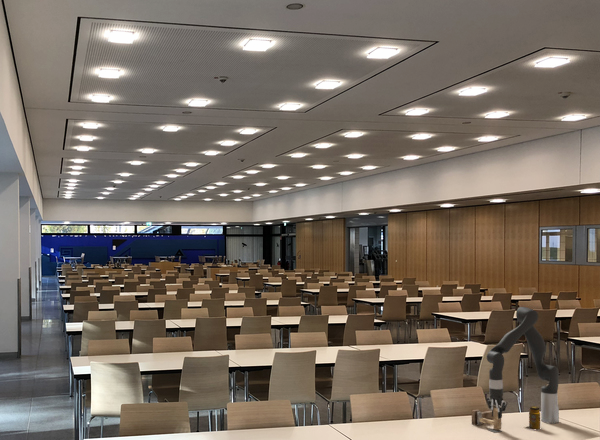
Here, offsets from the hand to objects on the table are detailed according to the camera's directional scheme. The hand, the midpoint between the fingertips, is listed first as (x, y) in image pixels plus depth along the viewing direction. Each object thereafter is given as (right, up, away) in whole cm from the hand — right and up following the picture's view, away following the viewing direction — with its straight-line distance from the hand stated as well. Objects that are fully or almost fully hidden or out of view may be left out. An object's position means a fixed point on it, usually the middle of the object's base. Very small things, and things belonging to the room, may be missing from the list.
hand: (497, 417), depth 358 cm
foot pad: (-2, -7, -1) cm, 7 cm away
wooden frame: (-3, -7, +4) cm, 9 cm away
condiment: (+22, -8, +4) cm, 24 cm away
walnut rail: (-2, -8, +15) cm, 17 cm away
